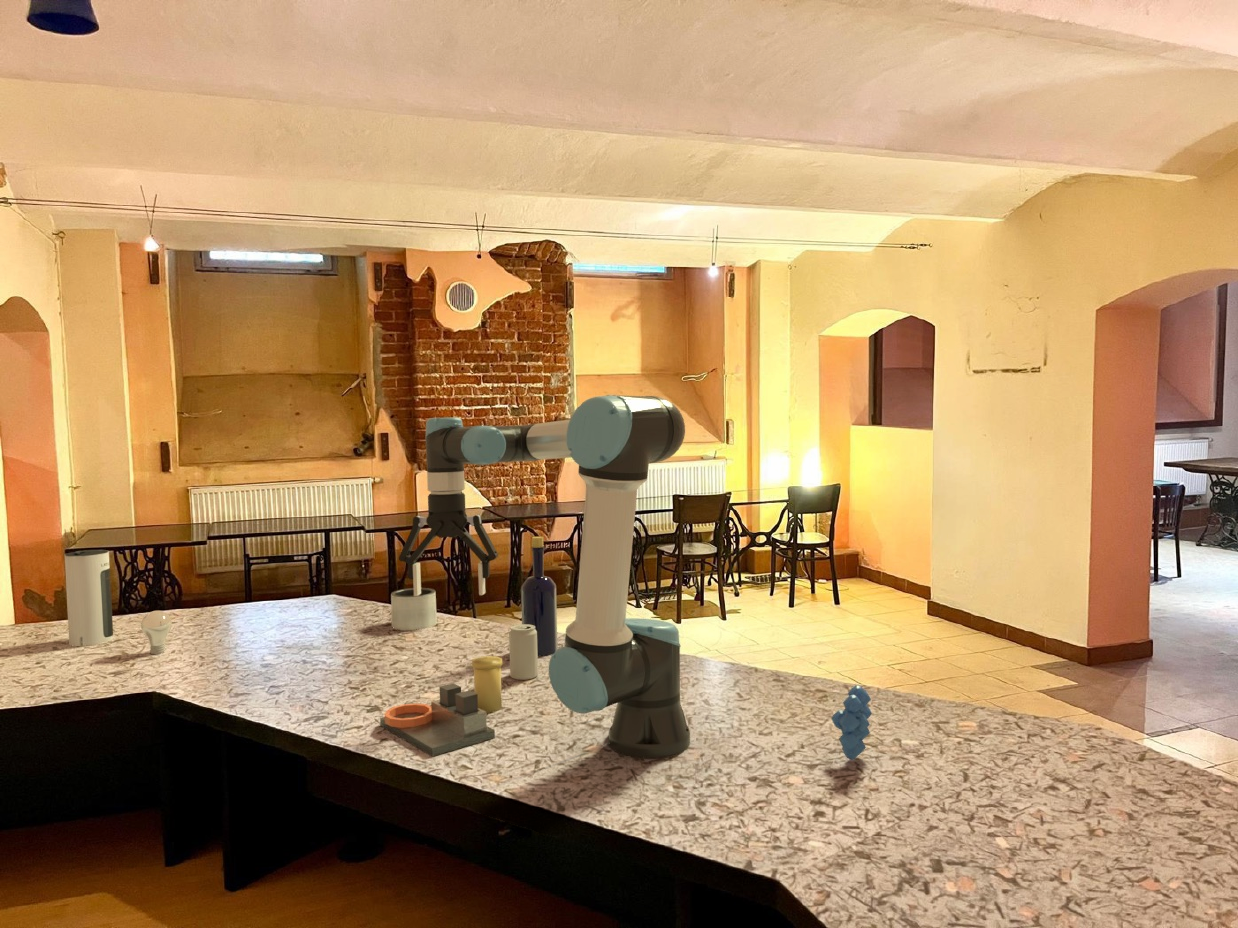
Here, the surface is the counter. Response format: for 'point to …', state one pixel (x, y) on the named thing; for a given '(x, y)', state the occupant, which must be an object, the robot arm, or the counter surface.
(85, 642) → the speaker
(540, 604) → the bottle
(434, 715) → the breaker panel
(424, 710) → the orange ring
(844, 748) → the grapes
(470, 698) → the block
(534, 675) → the beverage can
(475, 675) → the cap
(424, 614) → the planter
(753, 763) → the counter surface
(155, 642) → the light bulb
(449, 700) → the block
